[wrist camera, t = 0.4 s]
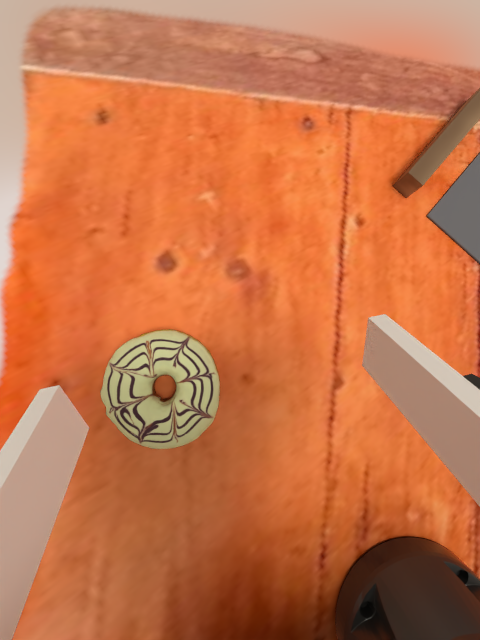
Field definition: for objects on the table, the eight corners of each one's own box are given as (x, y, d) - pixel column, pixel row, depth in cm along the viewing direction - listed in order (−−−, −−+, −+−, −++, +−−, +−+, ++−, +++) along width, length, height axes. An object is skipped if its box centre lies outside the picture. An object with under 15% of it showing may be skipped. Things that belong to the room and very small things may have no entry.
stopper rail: (479, 112, 31) (501, 92, 29) (406, 198, 30) (422, 185, 27) (466, 100, 31) (487, 80, 29) (392, 186, 30) (408, 172, 27)
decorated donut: (132, 453, 27) (117, 473, 23) (101, 349, 27) (81, 352, 23) (233, 418, 27) (235, 431, 24) (201, 317, 28) (197, 315, 24)
